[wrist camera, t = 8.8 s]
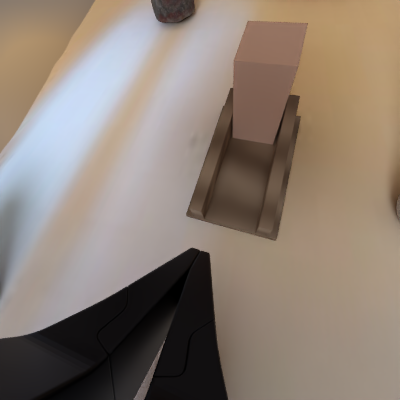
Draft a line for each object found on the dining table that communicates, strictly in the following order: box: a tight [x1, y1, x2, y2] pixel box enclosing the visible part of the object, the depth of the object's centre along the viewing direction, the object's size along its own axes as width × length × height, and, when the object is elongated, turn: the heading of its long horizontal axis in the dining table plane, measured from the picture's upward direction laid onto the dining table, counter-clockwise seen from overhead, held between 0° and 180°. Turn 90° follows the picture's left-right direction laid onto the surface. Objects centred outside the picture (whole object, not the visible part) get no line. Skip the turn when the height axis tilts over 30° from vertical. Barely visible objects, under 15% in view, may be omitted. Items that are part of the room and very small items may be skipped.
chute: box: [186, 88, 301, 240], centre depth 23 cm, size 16×10×4 cm, turn 163°
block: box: [232, 21, 308, 145], centre depth 21 cm, size 5×5×10 cm
